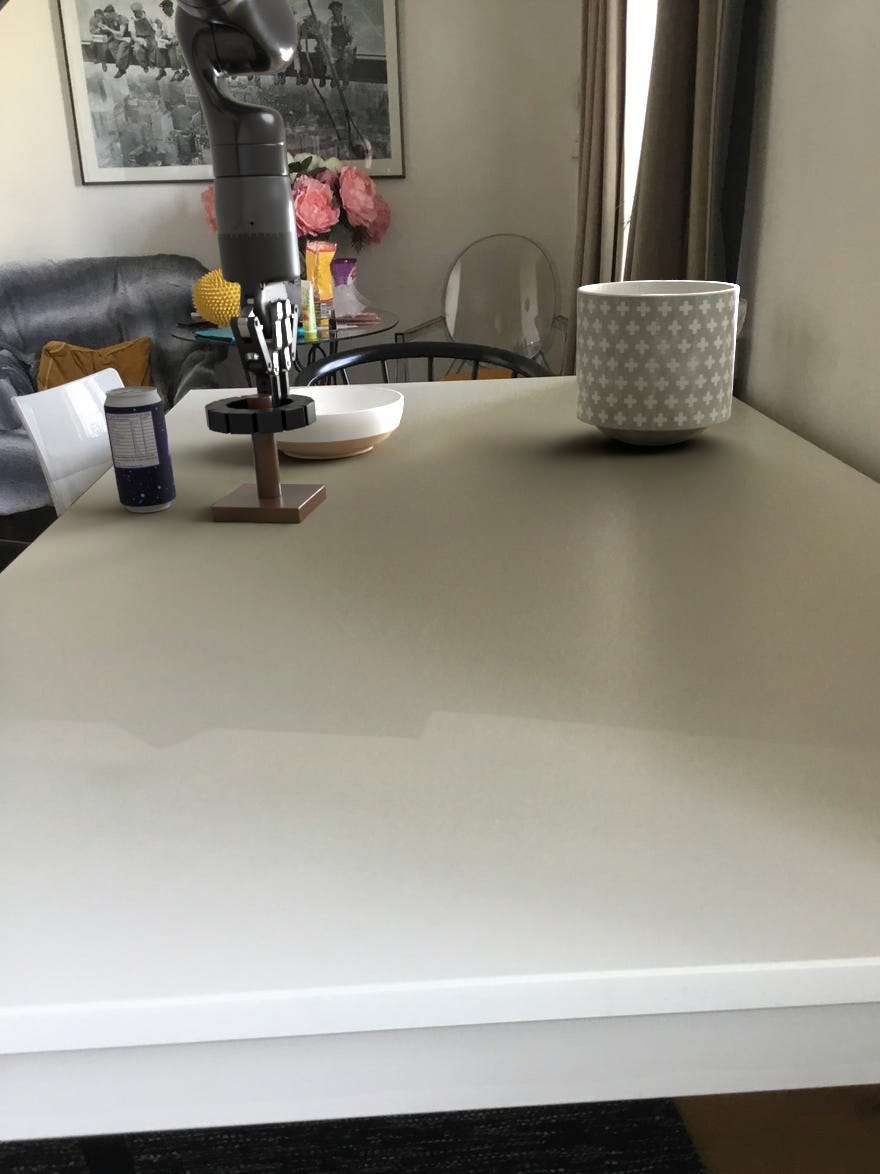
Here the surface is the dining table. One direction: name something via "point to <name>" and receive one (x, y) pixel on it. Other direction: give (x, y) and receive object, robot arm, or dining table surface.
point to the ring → (260, 415)
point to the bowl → (343, 422)
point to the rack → (268, 485)
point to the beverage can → (140, 448)
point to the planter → (655, 358)
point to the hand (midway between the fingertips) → (275, 409)
